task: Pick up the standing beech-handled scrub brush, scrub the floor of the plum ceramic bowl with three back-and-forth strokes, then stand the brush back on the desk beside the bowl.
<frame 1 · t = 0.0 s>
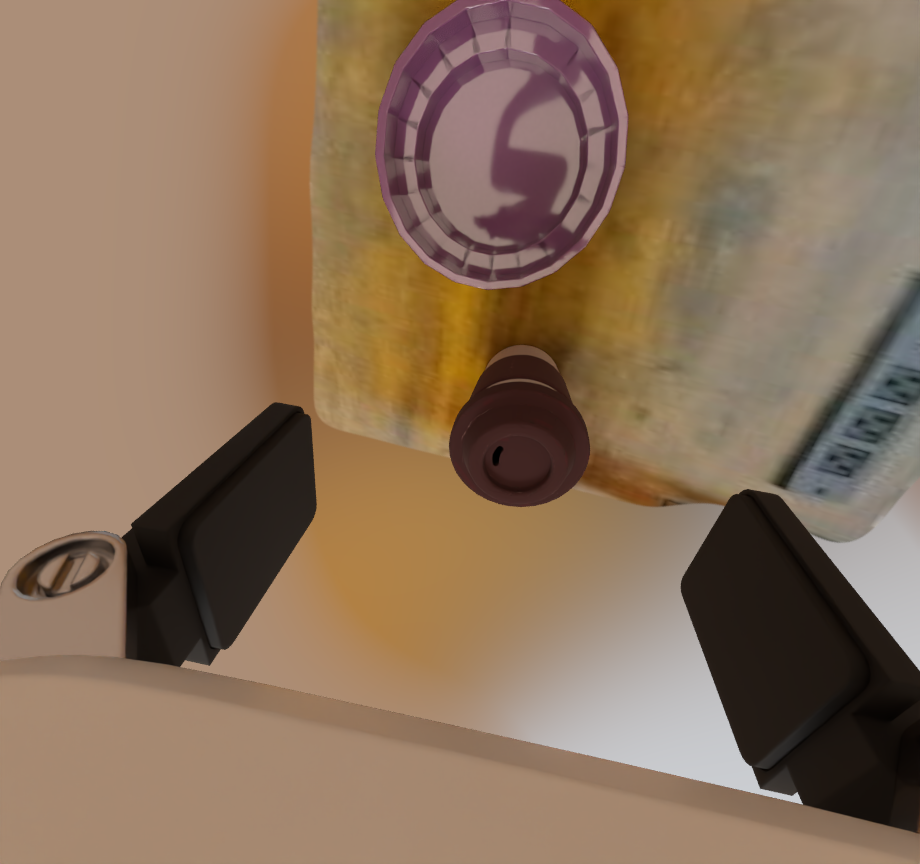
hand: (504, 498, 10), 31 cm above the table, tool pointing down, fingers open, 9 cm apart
coffee cup: (521, 378, 42), on the table
bowl: (501, 164, 33), on the table
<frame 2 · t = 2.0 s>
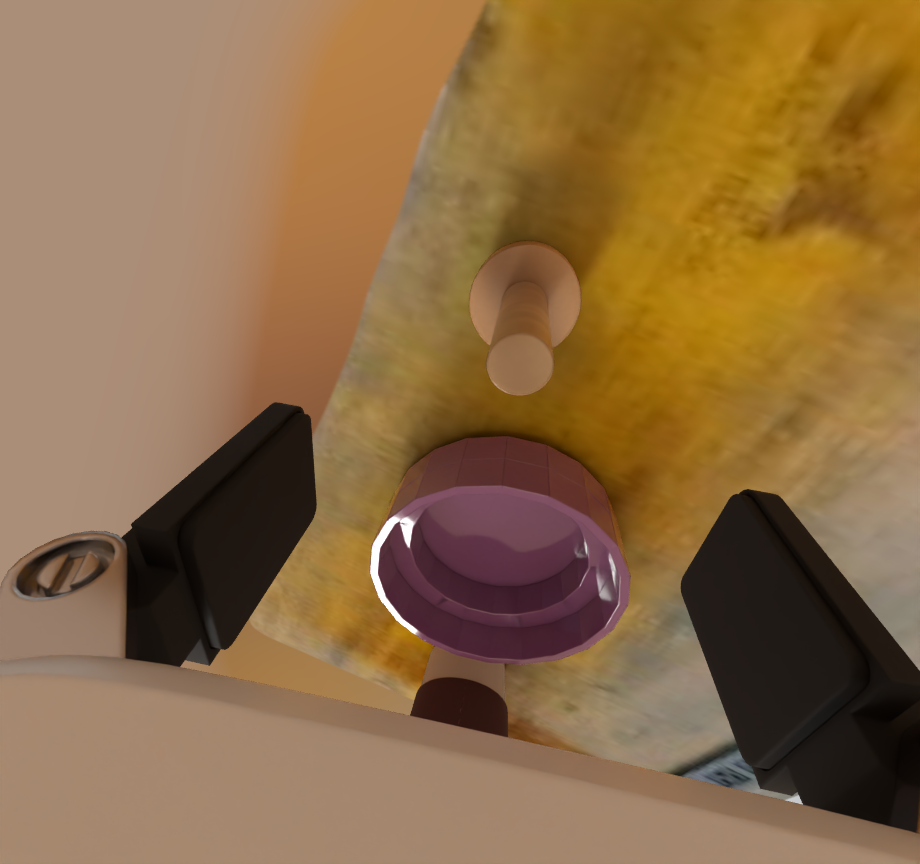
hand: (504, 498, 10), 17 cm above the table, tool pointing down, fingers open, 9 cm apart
coffee cup: (467, 655, 41), on the table
bowl: (500, 523, 32), on the table
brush: (524, 291, 23), on the table
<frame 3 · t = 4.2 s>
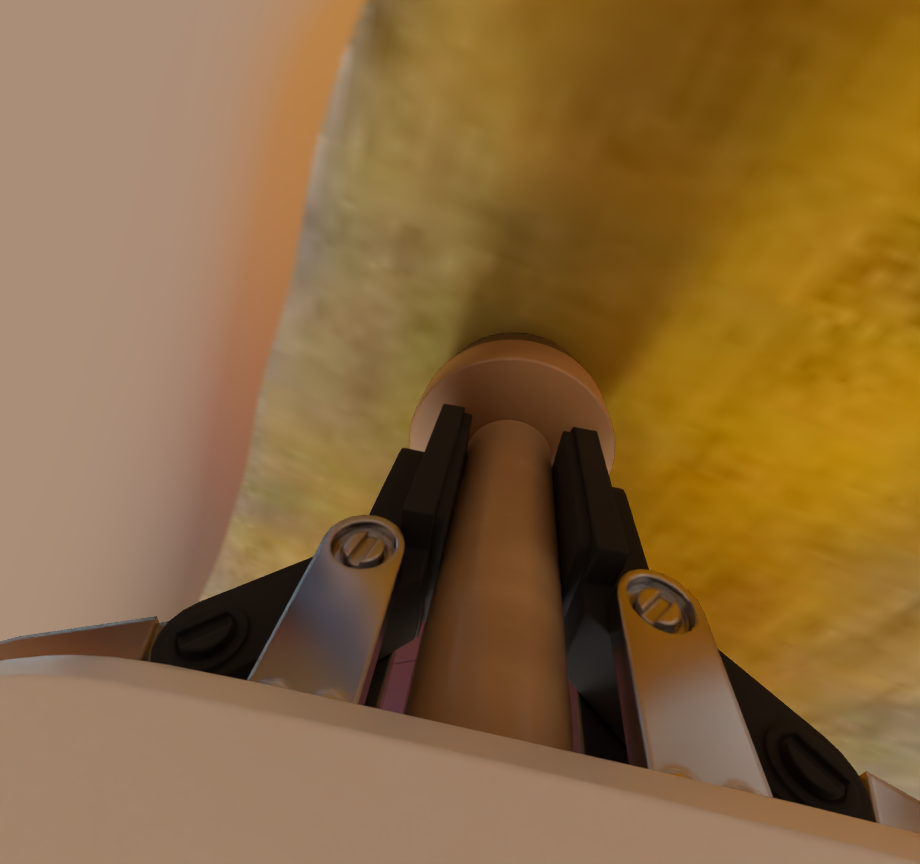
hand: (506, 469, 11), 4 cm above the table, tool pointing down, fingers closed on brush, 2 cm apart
bowl: (484, 690, 22), on the table
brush: (512, 404, 14), on the table, touching gripper
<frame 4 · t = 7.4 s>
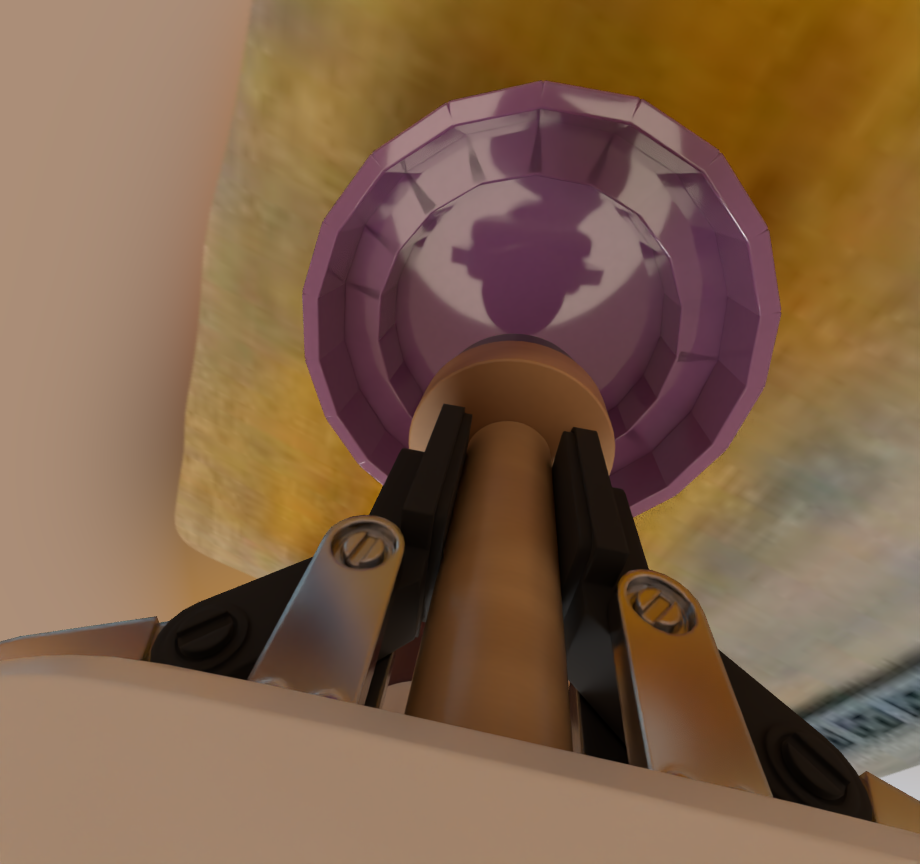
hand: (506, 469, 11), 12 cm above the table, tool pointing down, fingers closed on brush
coffee cup: (472, 571, 30), on the table
bowl: (522, 323, 20), on the table
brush: (512, 405, 14), point 8 cm above the table, touching gripper
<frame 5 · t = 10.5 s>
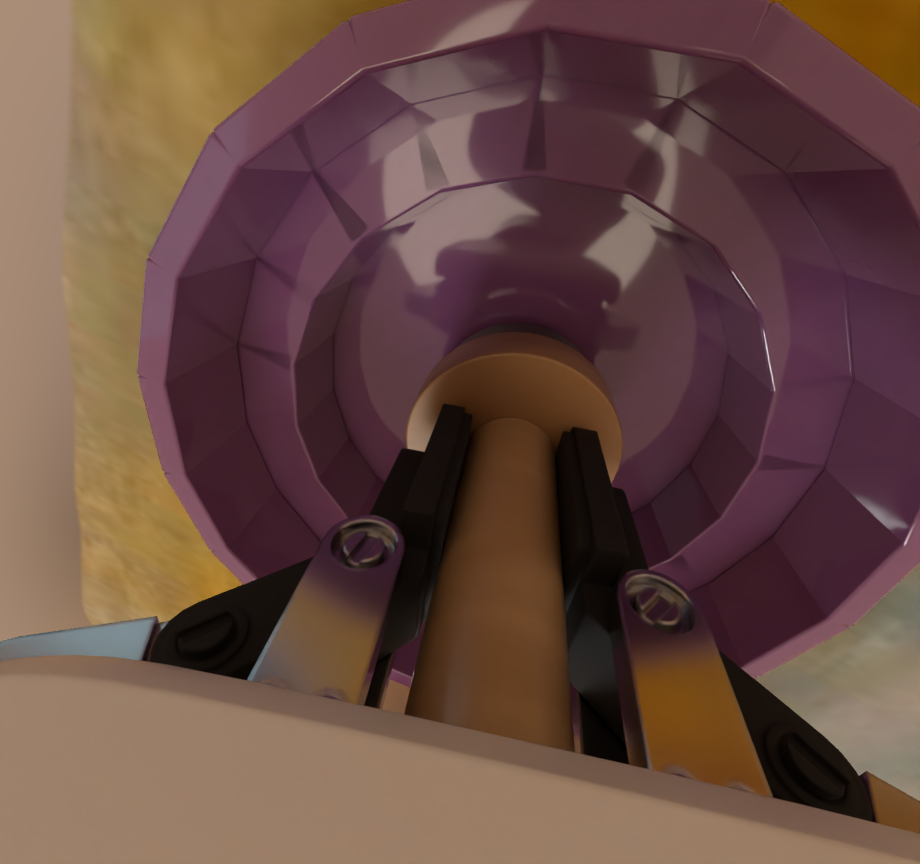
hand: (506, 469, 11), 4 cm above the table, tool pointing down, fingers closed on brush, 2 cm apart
coffee cup: (455, 677, 24), on the table
bowl: (516, 389, 14), on the table
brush: (514, 397, 13), point 1 cm above the table, touching gripper
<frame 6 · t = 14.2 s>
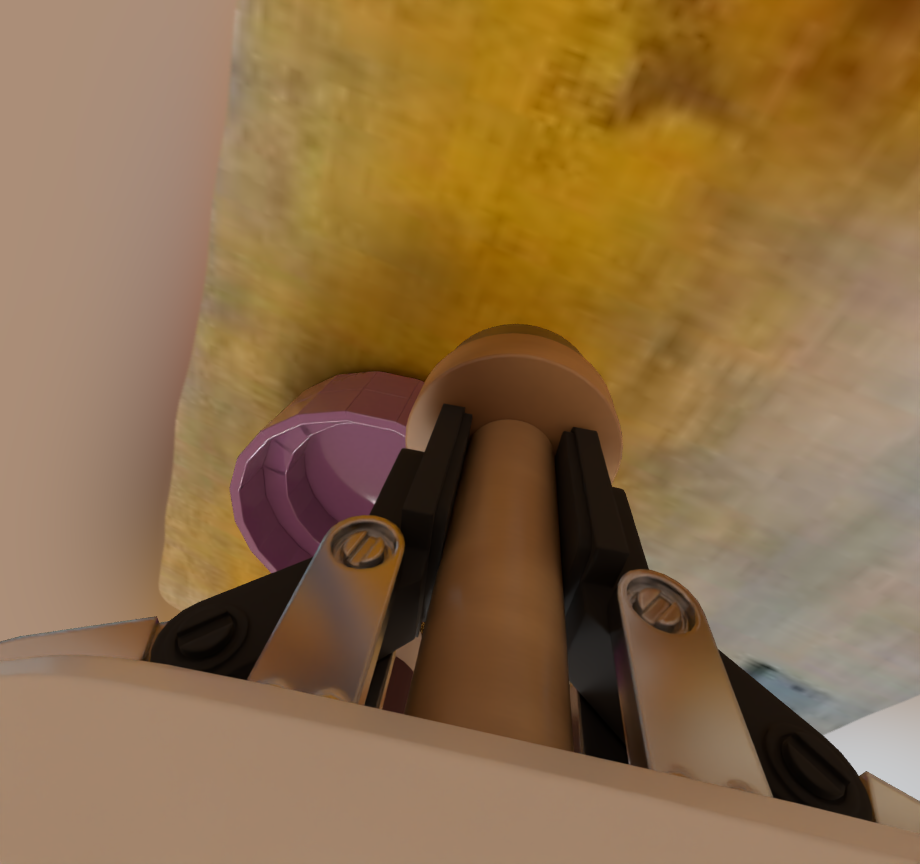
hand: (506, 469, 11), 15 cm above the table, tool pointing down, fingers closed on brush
coffee cup: (385, 627, 39), on the table
bowl: (392, 474, 30), on the table
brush: (514, 398, 13), point 11 cm above the table, touching gripper
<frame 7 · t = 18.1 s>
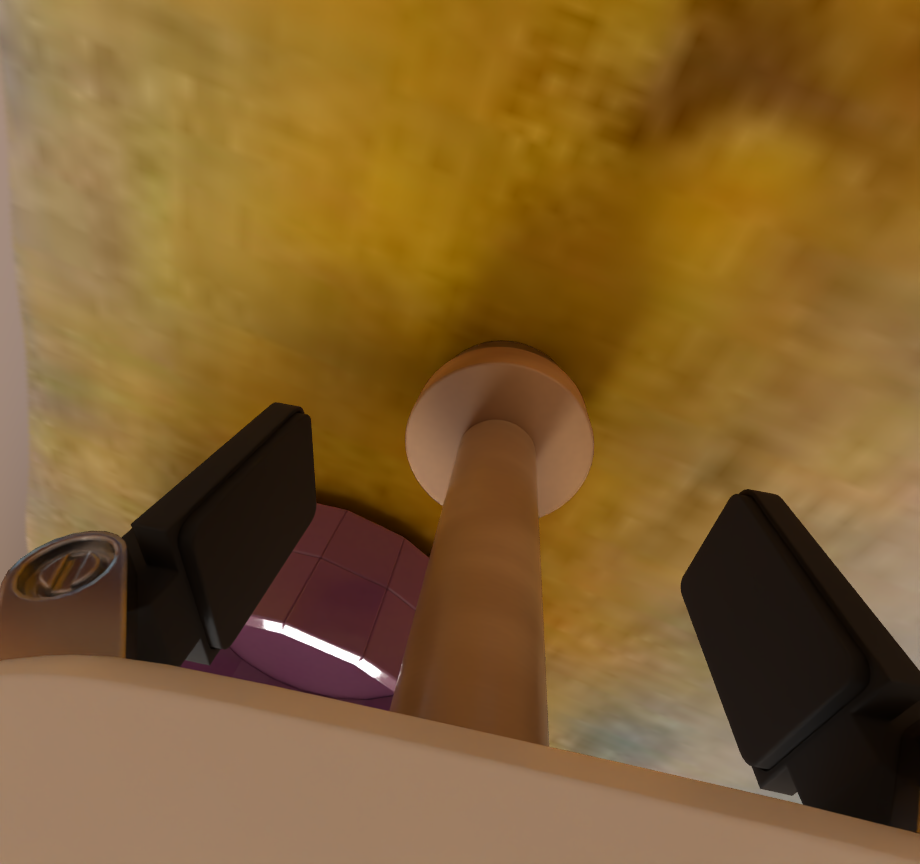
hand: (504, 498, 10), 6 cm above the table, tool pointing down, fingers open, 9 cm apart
bowl: (324, 614, 22), on the table
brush: (501, 407, 15), on the table
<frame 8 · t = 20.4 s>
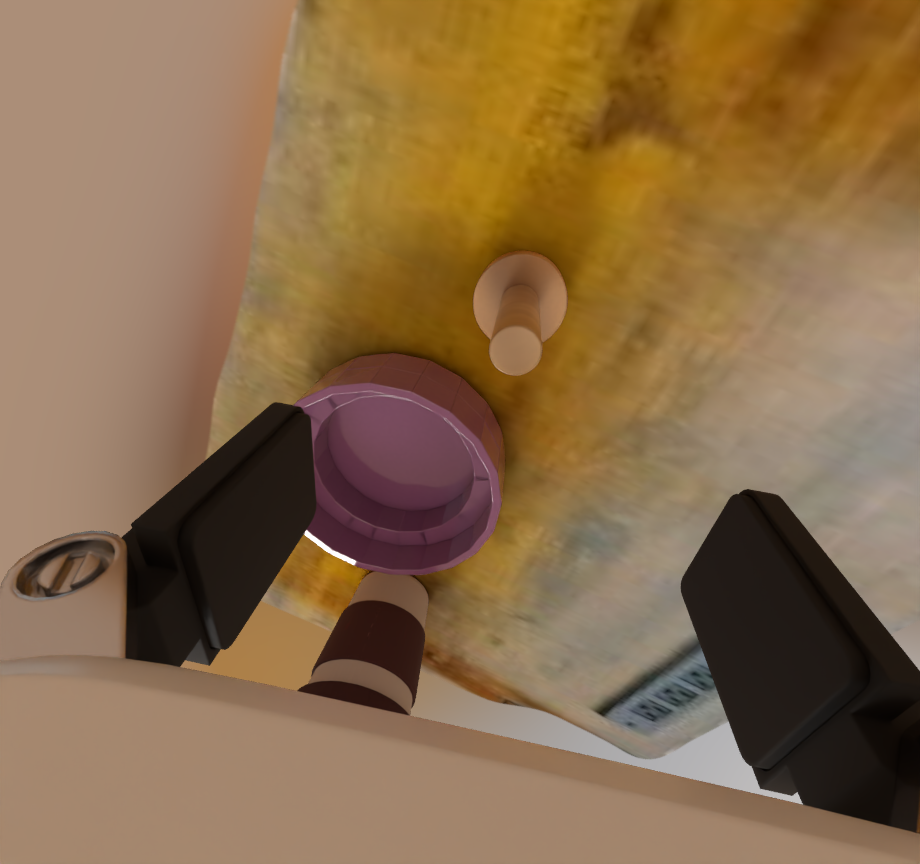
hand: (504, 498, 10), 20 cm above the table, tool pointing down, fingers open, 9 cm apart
coffee cup: (395, 590, 44), on the table
bowl: (404, 446, 34), on the table
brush: (520, 292, 27), on the table
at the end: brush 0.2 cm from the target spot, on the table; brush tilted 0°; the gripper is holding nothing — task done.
